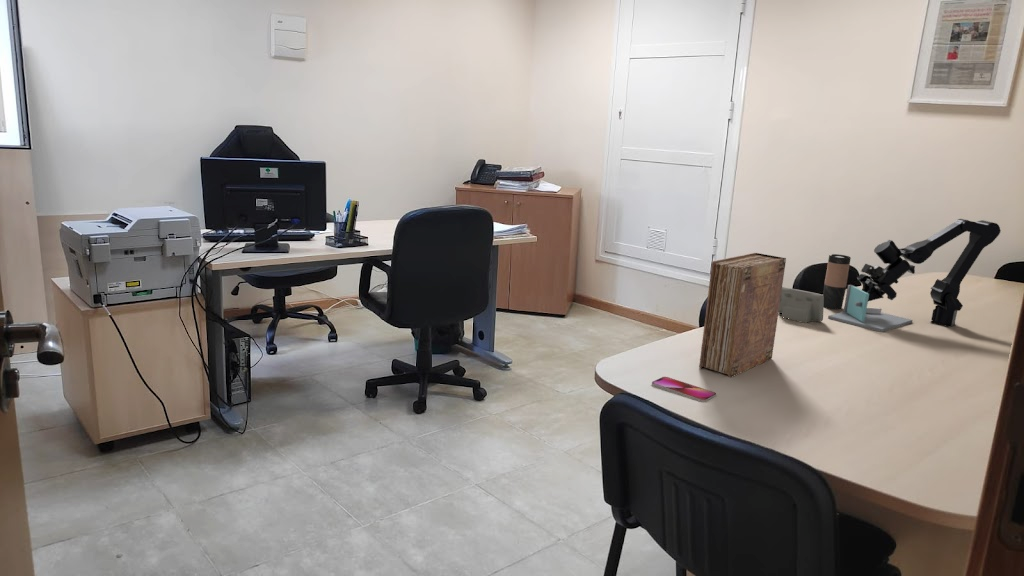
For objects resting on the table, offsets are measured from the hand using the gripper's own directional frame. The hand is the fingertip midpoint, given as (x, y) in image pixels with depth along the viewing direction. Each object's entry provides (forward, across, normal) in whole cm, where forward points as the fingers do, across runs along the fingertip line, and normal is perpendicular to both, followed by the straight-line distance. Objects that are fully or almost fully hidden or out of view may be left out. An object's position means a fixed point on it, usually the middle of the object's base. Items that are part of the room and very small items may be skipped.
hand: (857, 302), depth 251 cm
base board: (+1, 0, +8) cm, 8 cm away
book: (+47, +56, -39) cm, 82 cm away
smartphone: (+61, +79, -53) cm, 113 cm away
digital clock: (+20, +2, -11) cm, 23 cm away
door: (+4, +1, +3) cm, 5 cm away
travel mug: (+5, -17, +4) cm, 18 cm away
